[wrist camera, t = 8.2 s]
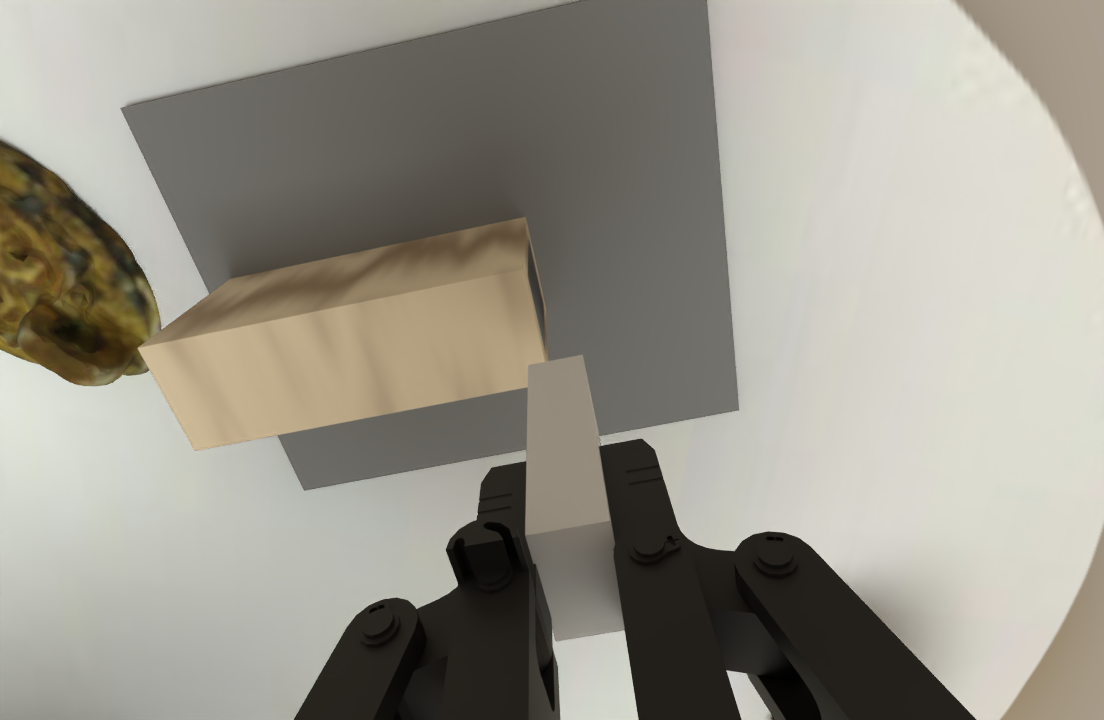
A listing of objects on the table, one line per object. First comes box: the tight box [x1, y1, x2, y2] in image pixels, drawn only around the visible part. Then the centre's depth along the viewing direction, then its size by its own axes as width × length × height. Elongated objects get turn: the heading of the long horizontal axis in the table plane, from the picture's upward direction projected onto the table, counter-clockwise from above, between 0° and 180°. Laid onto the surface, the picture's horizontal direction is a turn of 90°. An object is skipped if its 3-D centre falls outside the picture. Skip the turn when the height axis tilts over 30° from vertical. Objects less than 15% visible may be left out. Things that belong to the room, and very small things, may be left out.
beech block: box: [138, 217, 549, 451], centre depth 26 cm, size 8×4×14 cm
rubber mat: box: [121, 0, 739, 491], centre depth 29 cm, size 24×20×1 cm
